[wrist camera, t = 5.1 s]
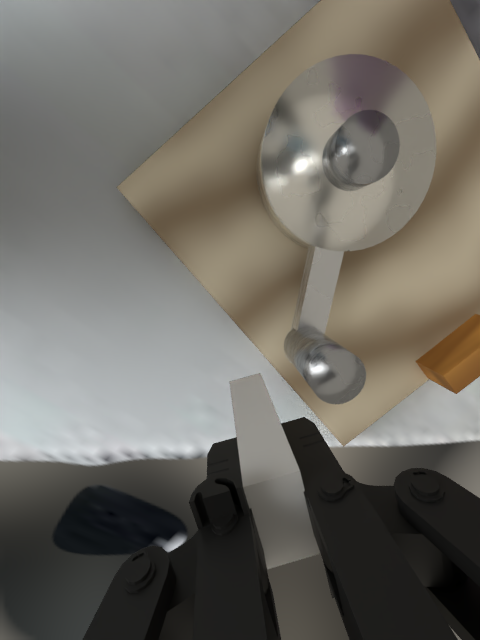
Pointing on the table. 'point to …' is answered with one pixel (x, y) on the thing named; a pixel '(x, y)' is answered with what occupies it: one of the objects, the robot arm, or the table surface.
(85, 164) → the table surface
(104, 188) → the table surface
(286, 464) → the robot arm
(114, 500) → the table surface
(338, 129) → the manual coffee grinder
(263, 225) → the beige flat square
